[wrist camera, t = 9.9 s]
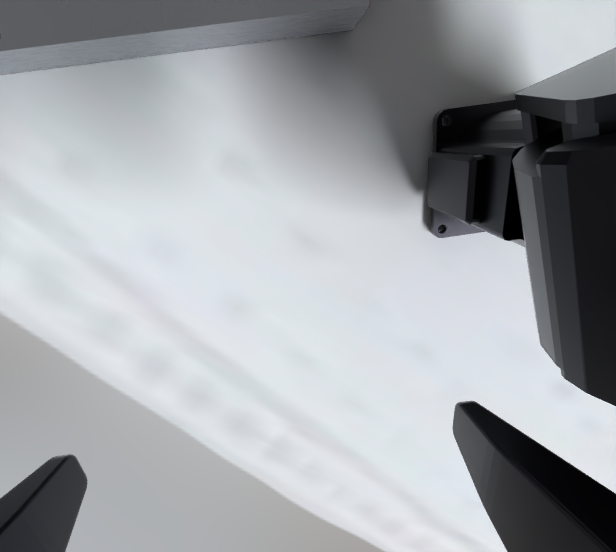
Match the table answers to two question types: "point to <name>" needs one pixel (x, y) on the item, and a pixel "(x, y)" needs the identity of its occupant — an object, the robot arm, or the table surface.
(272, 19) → the plate
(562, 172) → the robot arm
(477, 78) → the table surface
